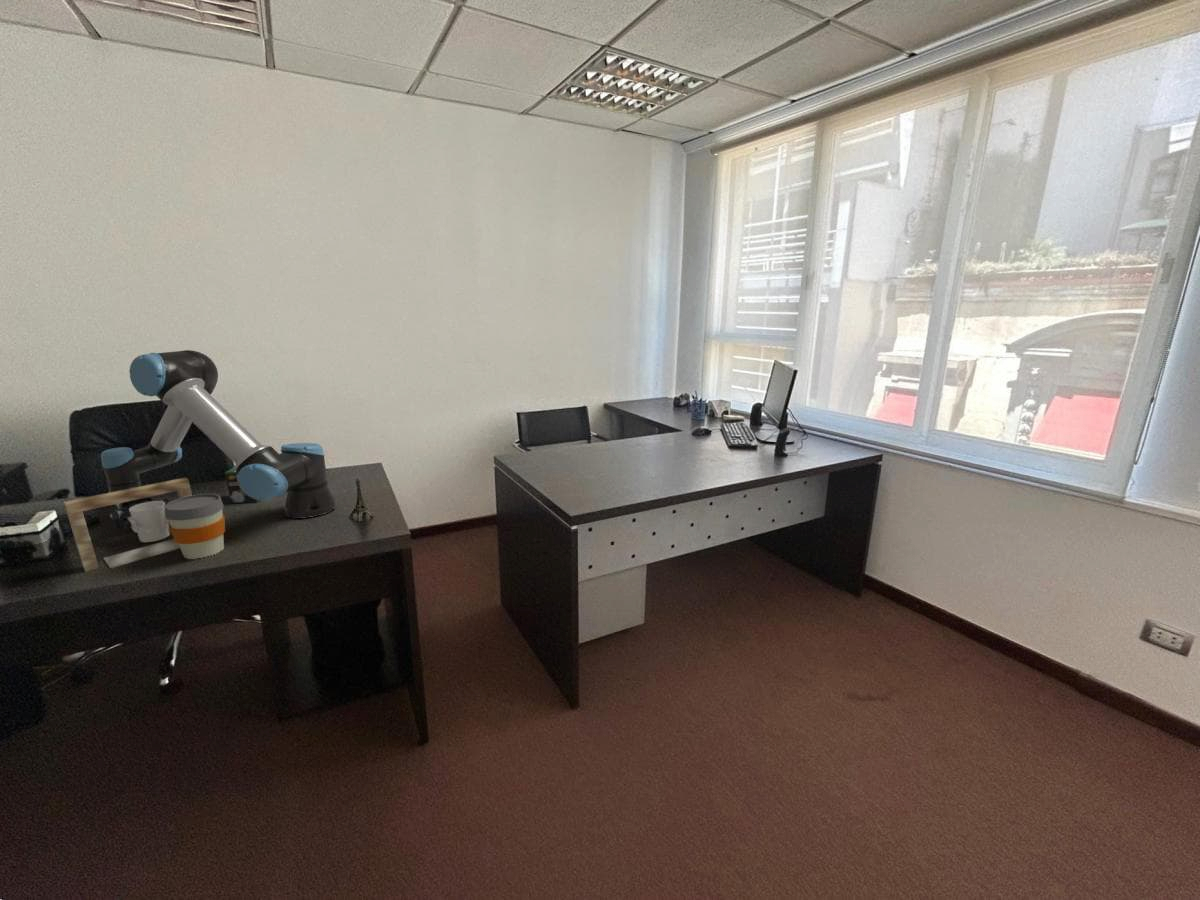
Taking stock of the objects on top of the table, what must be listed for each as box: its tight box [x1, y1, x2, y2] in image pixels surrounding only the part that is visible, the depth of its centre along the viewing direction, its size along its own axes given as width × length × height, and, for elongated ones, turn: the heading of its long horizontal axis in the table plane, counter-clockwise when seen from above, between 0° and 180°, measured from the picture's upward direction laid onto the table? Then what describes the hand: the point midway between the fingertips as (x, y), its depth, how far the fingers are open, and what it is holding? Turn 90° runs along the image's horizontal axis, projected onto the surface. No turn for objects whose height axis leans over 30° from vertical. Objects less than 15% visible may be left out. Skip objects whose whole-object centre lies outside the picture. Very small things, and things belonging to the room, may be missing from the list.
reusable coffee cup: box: [165, 493, 226, 560], centre depth 138 cm, size 13×13×15 cm
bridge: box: [63, 477, 193, 572], centre depth 136 cm, size 24×8×18 cm, turn 142°
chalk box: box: [224, 466, 261, 504], centre depth 176 cm, size 9×9×15 cm
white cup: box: [129, 500, 171, 543], centre depth 146 cm, size 8×8×10 cm
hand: (154, 523), depth 143 cm, fingers closed on white cup, 7 cm apart
